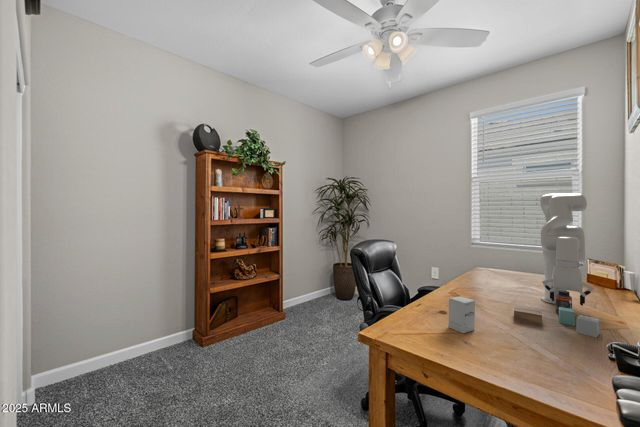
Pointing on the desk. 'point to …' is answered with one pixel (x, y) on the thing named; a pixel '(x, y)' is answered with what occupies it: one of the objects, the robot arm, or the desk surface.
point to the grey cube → (587, 325)
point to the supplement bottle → (563, 300)
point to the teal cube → (566, 316)
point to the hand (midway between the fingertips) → (566, 302)
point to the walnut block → (528, 315)
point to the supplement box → (461, 314)
